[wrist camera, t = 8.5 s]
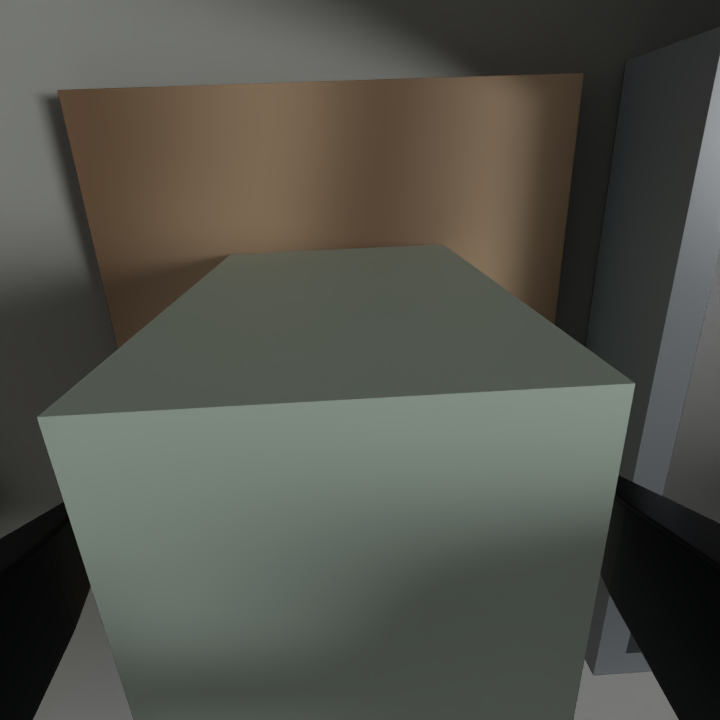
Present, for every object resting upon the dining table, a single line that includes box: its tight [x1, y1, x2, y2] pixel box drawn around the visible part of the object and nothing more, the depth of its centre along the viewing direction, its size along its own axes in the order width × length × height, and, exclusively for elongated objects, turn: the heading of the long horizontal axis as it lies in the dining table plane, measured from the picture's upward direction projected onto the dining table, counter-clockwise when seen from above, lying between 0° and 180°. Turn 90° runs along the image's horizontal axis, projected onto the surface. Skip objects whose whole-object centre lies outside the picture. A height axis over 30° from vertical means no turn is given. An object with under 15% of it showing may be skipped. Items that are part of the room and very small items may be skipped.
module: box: [37, 244, 635, 720], centre depth 9 cm, size 5×8×8 cm, turn 2°
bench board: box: [58, 73, 584, 349], centre depth 13 cm, size 11×15×1 cm
